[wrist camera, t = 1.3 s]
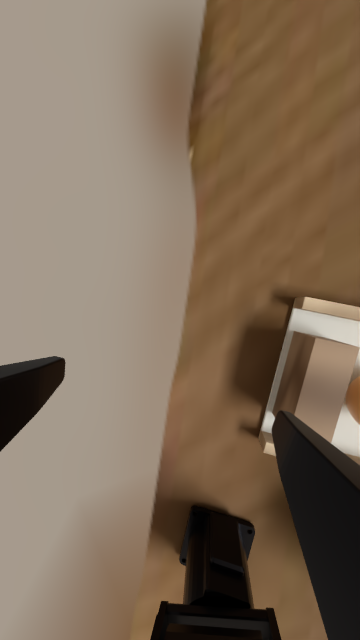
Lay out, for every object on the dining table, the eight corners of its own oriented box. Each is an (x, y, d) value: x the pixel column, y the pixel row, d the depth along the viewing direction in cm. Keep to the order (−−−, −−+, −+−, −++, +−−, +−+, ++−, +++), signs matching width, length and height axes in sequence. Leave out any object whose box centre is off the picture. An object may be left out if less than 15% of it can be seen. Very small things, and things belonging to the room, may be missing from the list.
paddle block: (304, 421, 20) (328, 450, 16) (272, 412, 20) (287, 439, 16) (328, 338, 19) (360, 347, 15) (293, 330, 19) (315, 337, 15)
